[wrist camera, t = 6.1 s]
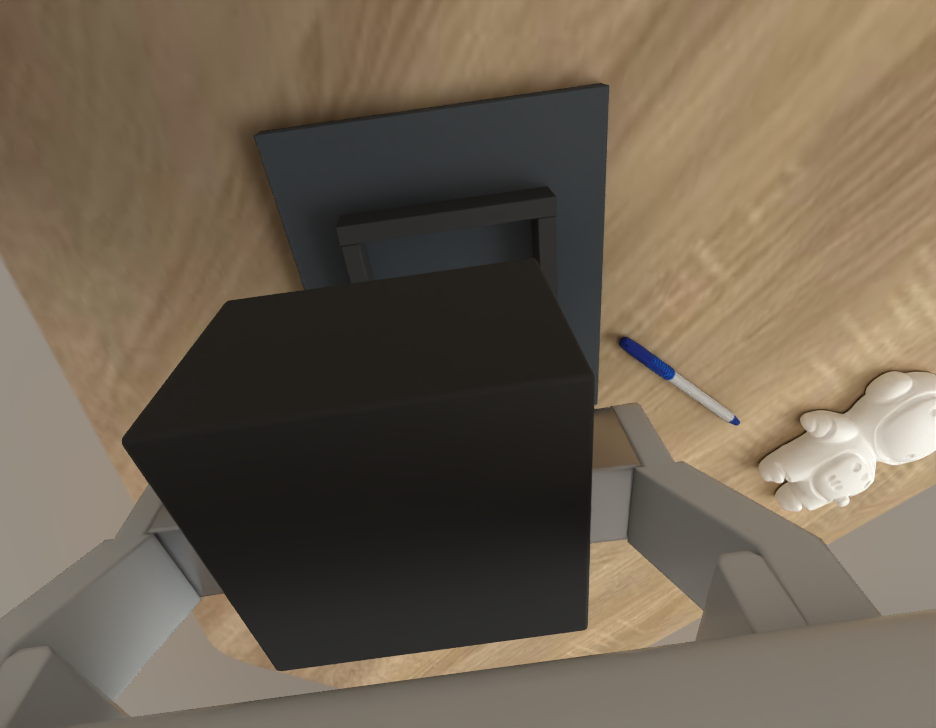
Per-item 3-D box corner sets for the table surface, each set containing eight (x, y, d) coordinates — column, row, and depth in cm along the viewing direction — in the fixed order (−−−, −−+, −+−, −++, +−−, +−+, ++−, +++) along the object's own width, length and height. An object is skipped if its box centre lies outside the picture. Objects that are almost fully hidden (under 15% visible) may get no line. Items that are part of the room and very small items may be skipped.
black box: (315, 508, 13) (276, 674, 9) (225, 299, 9) (114, 440, 6) (546, 476, 13) (589, 632, 9) (536, 255, 9) (597, 374, 6)
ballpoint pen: (612, 344, 27) (618, 353, 26) (623, 332, 27) (630, 341, 26) (730, 421, 31) (738, 432, 30) (741, 412, 31) (750, 423, 30)
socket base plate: (355, 427, 29) (350, 459, 27) (259, 131, 20) (240, 142, 18) (592, 394, 29) (606, 423, 27) (601, 82, 20) (623, 88, 18)
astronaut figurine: (740, 441, 32) (768, 475, 30) (938, 344, 29) (988, 374, 26) (776, 510, 36) (802, 546, 34) (952, 433, 33) (995, 465, 31)
